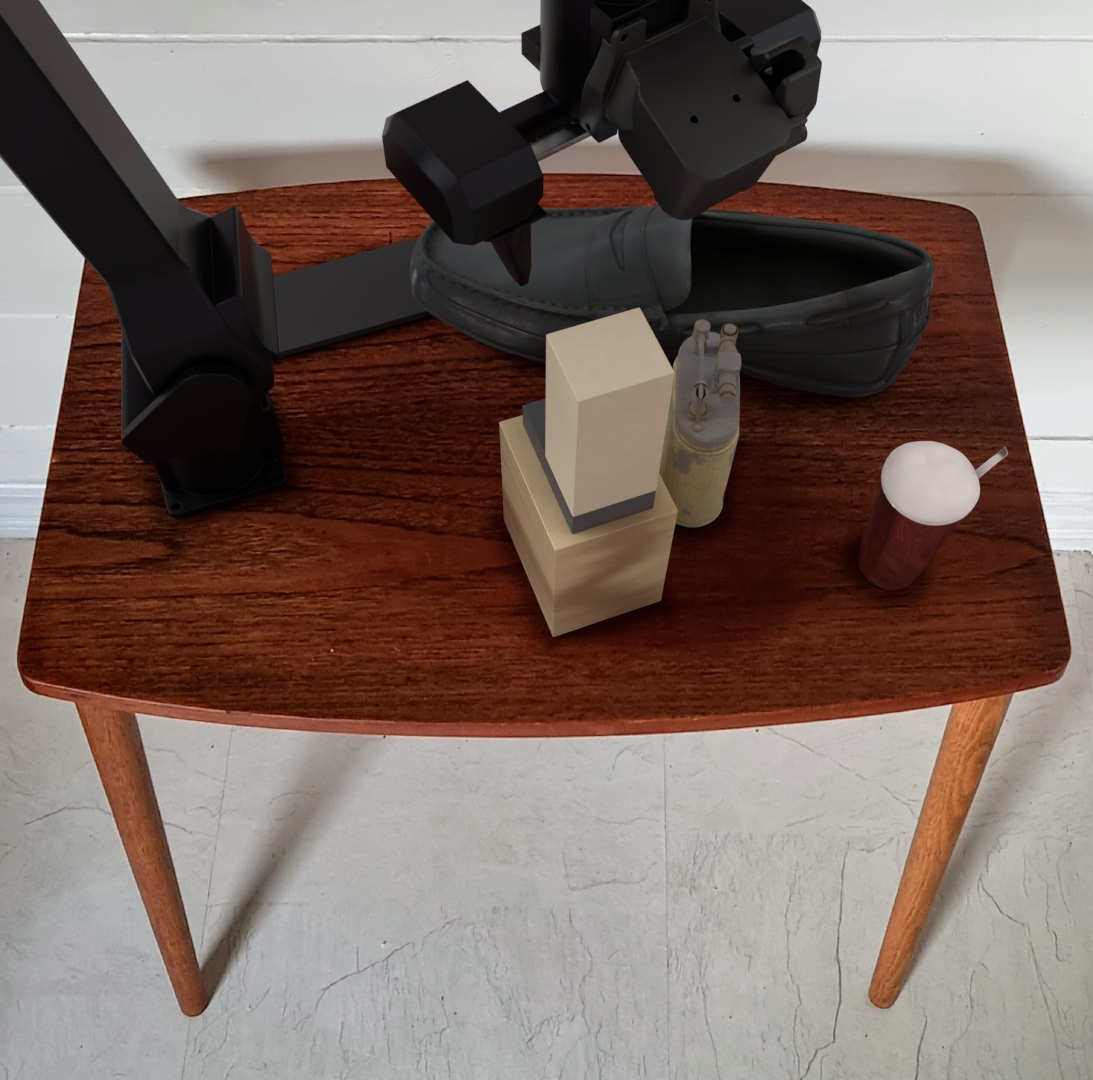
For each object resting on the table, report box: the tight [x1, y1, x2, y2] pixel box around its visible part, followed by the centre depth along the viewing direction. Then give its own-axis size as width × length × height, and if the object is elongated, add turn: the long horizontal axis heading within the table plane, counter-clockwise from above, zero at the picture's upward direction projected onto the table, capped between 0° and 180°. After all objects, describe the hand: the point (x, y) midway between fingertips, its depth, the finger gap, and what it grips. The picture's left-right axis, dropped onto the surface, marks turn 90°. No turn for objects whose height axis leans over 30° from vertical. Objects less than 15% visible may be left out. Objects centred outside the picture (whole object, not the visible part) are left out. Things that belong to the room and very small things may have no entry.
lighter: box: [659, 319, 741, 528], centre depth 63 cm, size 7×4×10 cm, turn 176°
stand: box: [498, 414, 678, 638], centre depth 60 cm, size 6×8×9 cm
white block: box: [522, 308, 674, 534], centre depth 52 cm, size 4×6×10 cm, turn 21°
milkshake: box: [858, 440, 1009, 591], centre depth 60 cm, size 4×5×10 cm
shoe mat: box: [273, 238, 433, 359], centre depth 73 cm, size 12×6×1 cm, turn 111°
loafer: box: [410, 204, 935, 399], centre depth 68 cm, size 10×29×10 cm, turn 85°
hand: (598, 237), depth 58 cm, fingers open, 9 cm apart
